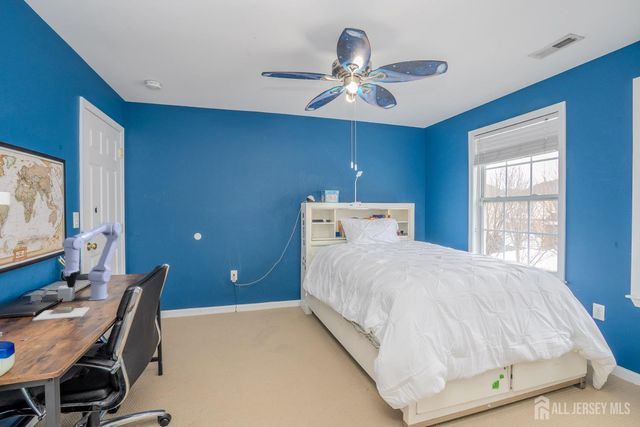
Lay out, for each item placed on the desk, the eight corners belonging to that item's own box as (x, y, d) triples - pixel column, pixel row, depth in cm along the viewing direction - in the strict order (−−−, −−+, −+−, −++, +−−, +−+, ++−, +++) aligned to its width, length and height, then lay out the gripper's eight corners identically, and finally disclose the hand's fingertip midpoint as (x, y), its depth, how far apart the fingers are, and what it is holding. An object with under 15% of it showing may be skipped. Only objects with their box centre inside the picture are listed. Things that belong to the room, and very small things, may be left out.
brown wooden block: (61, 303, 153) (55, 308, 146) (75, 302, 156) (70, 307, 148) (60, 308, 153) (54, 313, 146) (75, 307, 156) (70, 312, 148)
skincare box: (74, 298, 173) (75, 285, 173) (70, 301, 167) (71, 287, 167) (61, 299, 171) (62, 285, 171) (56, 302, 165) (57, 288, 165)
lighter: (30, 304, 159) (31, 289, 159) (31, 303, 160) (32, 288, 160) (48, 303, 162) (48, 288, 162) (49, 302, 164) (49, 287, 164)
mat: (44, 311, 150) (44, 310, 150) (89, 308, 157) (89, 307, 157) (32, 321, 137) (32, 319, 137) (81, 316, 145) (81, 315, 145)
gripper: (67, 259, 162) (66, 284, 162) (57, 263, 149) (56, 291, 149) (83, 258, 165) (82, 283, 165) (75, 263, 152) (74, 290, 152)
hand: (71, 287), depth 157 cm, fingers closed
